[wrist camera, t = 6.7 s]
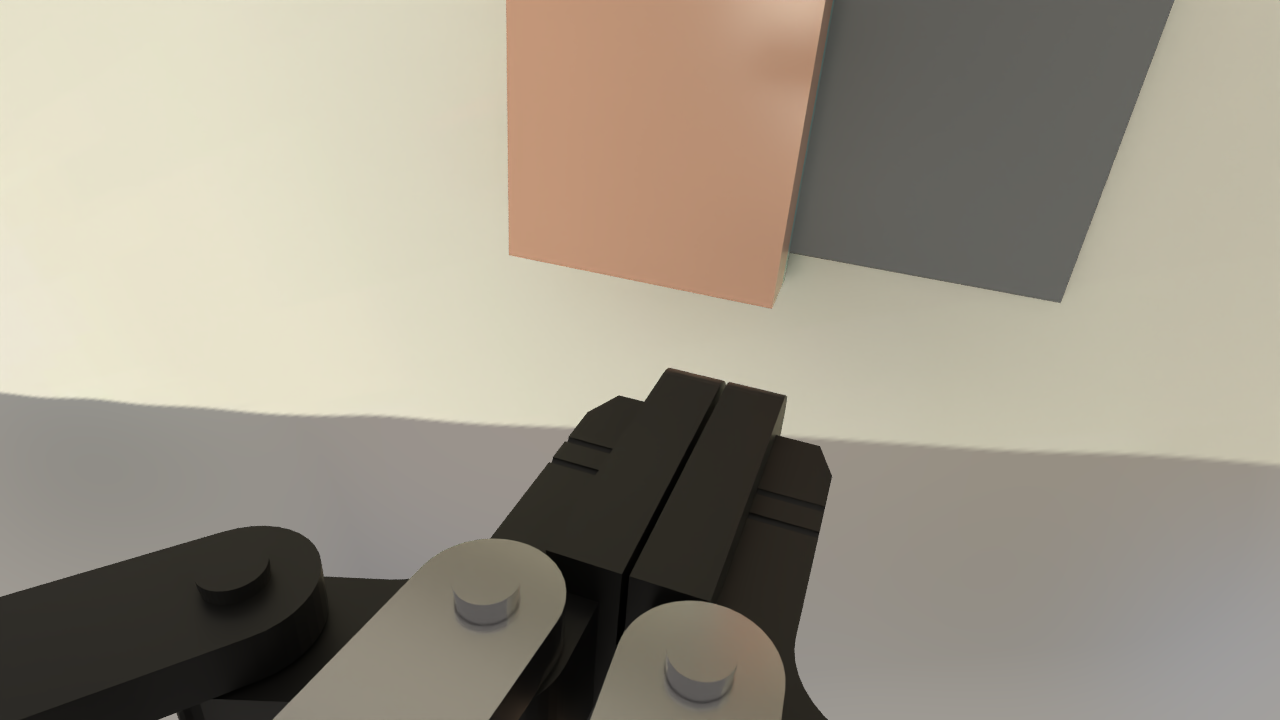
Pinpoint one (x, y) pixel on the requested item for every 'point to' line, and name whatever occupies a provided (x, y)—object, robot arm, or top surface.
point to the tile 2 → (662, 137)
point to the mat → (970, 135)
